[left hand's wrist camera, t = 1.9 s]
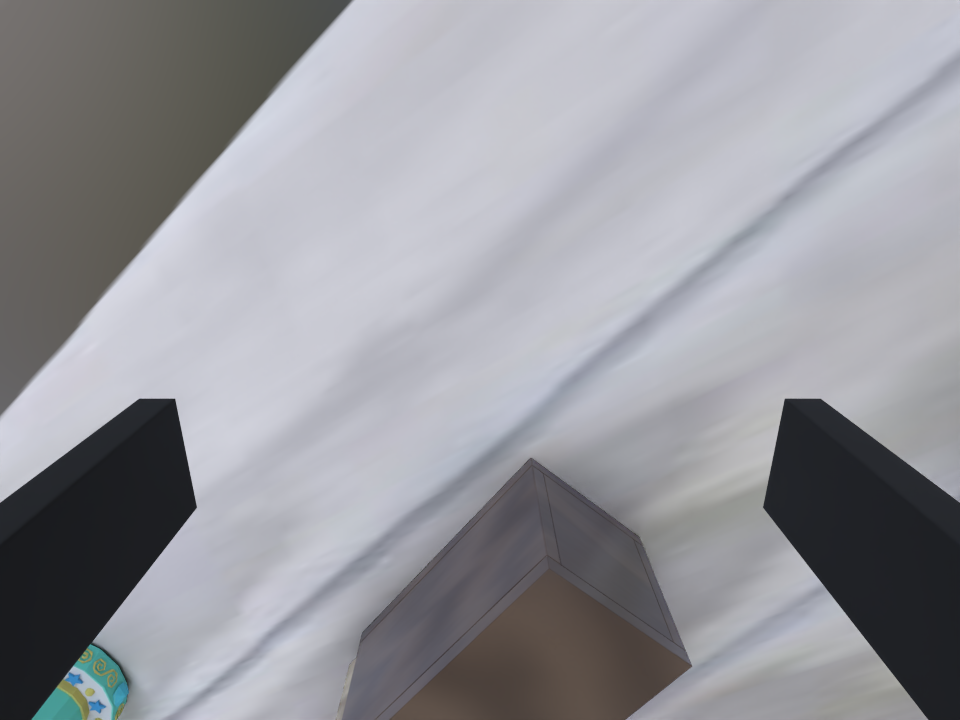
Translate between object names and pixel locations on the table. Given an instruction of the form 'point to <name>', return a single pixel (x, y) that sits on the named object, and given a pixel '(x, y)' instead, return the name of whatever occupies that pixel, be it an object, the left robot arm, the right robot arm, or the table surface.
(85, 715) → the decorative hourglass
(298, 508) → the table surface
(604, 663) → the cabinet
